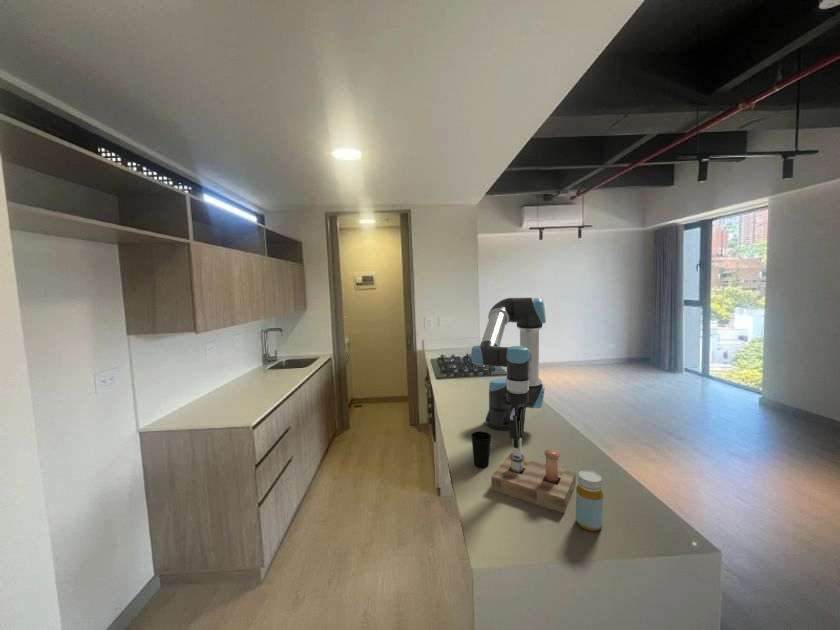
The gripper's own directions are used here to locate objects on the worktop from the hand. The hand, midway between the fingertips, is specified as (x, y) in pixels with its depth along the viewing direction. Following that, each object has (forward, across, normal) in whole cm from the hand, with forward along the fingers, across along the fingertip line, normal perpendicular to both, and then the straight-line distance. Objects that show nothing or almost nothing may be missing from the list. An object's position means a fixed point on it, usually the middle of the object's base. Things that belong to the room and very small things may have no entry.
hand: (517, 455), depth 125 cm
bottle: (+11, +10, +25) cm, 29 cm away
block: (+10, 0, +6) cm, 12 cm away
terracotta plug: (+5, 0, +12) cm, 13 cm away
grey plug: (+9, 0, 0) cm, 9 cm away
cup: (+11, -5, -16) cm, 20 cm away
